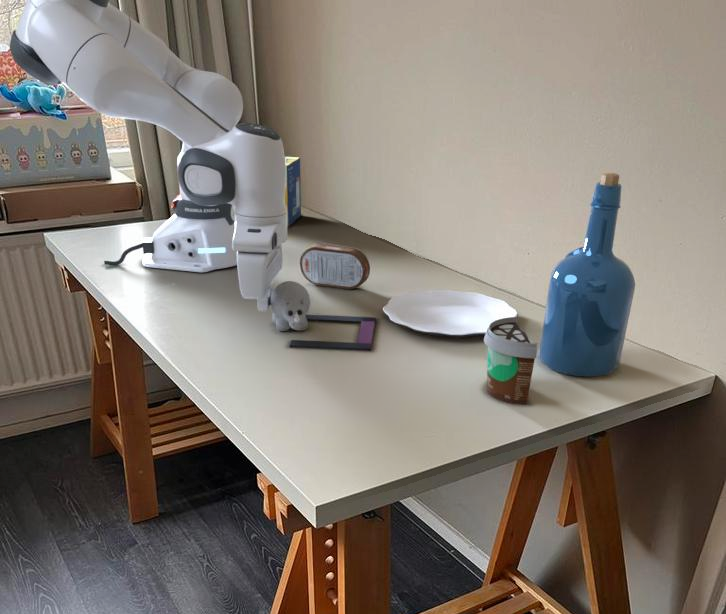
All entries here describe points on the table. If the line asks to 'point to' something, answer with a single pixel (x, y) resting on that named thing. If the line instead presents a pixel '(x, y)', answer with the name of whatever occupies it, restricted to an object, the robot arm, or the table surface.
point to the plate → (447, 312)
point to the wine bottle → (589, 296)
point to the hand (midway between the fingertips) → (264, 308)
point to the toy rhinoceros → (290, 306)
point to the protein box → (292, 189)
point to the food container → (509, 361)
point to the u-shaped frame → (362, 342)
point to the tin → (334, 266)
